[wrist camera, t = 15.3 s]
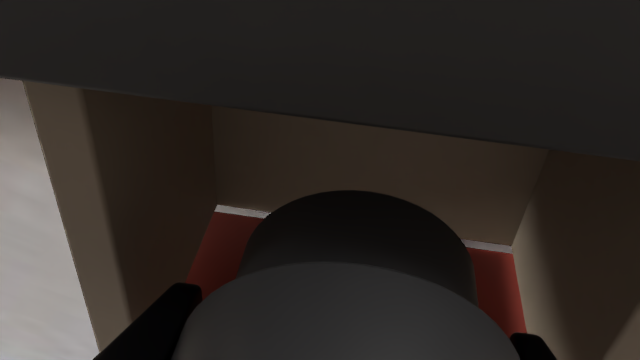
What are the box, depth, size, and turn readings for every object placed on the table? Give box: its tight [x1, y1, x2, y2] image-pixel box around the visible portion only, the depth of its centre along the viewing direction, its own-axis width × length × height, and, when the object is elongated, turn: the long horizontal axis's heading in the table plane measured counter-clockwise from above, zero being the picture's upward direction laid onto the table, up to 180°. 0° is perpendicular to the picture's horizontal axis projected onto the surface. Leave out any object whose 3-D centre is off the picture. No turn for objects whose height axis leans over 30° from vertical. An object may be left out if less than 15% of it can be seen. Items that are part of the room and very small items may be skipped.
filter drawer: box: [22, 81, 640, 360], centre depth 13 cm, size 19×11×7 cm, turn 176°
